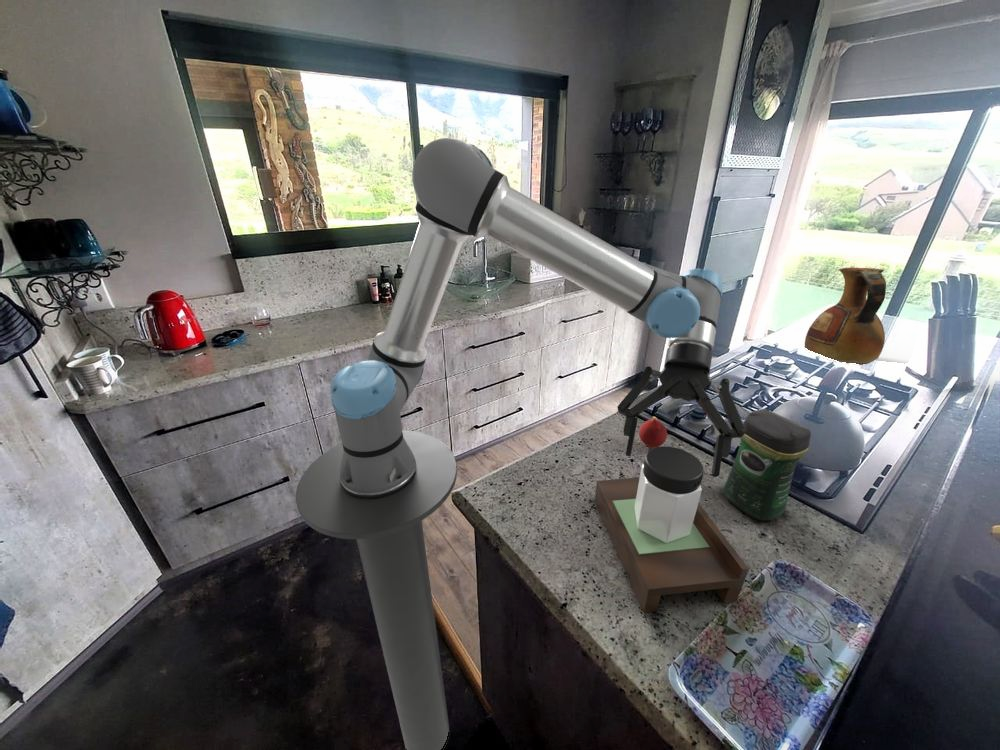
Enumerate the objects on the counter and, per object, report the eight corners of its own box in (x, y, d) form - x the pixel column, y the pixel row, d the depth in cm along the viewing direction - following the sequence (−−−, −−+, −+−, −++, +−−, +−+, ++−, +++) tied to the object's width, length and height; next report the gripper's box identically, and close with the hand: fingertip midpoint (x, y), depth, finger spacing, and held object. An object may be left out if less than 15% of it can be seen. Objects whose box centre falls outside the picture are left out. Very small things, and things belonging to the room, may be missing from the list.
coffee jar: (790, 514, 73) (825, 428, 65) (761, 528, 70) (793, 440, 62) (742, 481, 81) (768, 401, 73) (714, 492, 78) (737, 410, 70)
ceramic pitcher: (847, 348, 142) (882, 261, 128) (891, 373, 124) (937, 275, 110) (788, 347, 143) (816, 261, 130) (823, 371, 125) (860, 274, 112)
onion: (664, 443, 93) (670, 413, 89) (662, 457, 88) (669, 426, 85) (638, 437, 95) (643, 408, 91) (635, 451, 90) (640, 421, 87)
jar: (694, 547, 60) (712, 485, 55) (638, 540, 62) (650, 479, 56) (681, 504, 68) (695, 446, 63) (631, 499, 70) (641, 441, 64)
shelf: (594, 501, 76) (597, 472, 73) (664, 495, 78) (671, 466, 75) (643, 612, 57) (651, 579, 54) (736, 602, 58) (749, 568, 55)
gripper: (763, 368, 72) (749, 487, 66) (619, 348, 81) (597, 451, 75) (776, 352, 65) (762, 482, 59) (618, 332, 74) (593, 443, 69)
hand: (669, 465), depth 67 cm, fingers open, 13 cm apart
